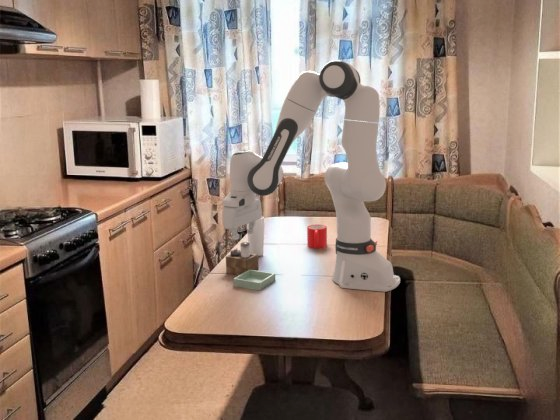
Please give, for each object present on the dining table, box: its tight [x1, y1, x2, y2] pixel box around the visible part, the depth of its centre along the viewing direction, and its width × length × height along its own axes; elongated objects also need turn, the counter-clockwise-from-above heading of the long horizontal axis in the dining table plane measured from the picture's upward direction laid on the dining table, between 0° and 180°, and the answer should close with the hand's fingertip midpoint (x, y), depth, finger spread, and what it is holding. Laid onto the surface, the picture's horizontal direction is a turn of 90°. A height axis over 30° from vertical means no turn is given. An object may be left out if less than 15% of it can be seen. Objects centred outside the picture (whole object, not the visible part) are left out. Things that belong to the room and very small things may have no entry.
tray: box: [232, 269, 276, 291], centre depth 194 cm, size 10×10×2 cm
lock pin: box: [239, 241, 250, 259], centre depth 204 cm, size 3×3×11 cm
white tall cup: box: [246, 215, 265, 257], centre depth 223 cm, size 7×7×15 cm
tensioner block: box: [225, 248, 259, 276], centre depth 205 cm, size 9×7×8 cm
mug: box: [306, 224, 328, 249], centre depth 232 cm, size 8×12×8 cm, turn 177°
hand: (243, 236), depth 202 cm, fingers open, 8 cm apart
